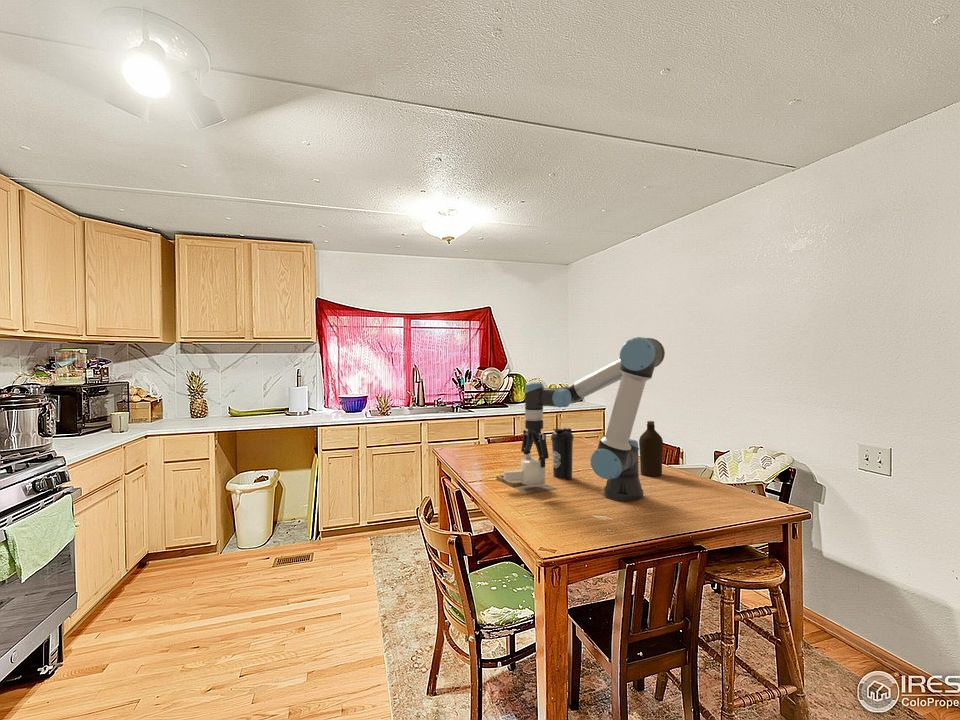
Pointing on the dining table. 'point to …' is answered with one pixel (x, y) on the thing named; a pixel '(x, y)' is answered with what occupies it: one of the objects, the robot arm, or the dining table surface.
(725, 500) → the dining table surface
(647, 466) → the olive oil
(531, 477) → the white pot with handle
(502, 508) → the dining table surface
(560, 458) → the water bottle
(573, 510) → the dining table surface
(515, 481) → the brown flat rectangular tray
